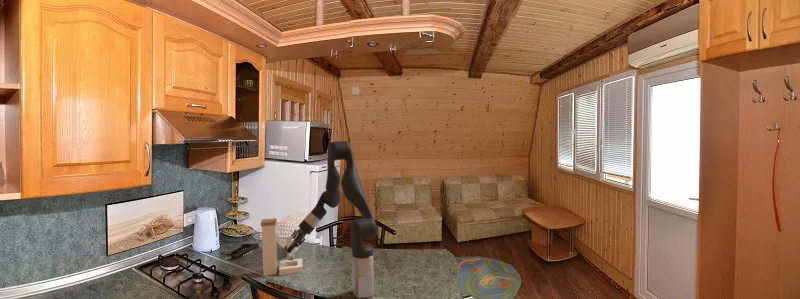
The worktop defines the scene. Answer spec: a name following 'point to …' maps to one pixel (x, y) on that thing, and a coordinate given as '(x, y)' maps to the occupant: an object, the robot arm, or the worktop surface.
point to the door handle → (240, 251)
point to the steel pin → (288, 242)
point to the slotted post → (275, 252)
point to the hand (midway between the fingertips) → (286, 250)
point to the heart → (289, 227)
